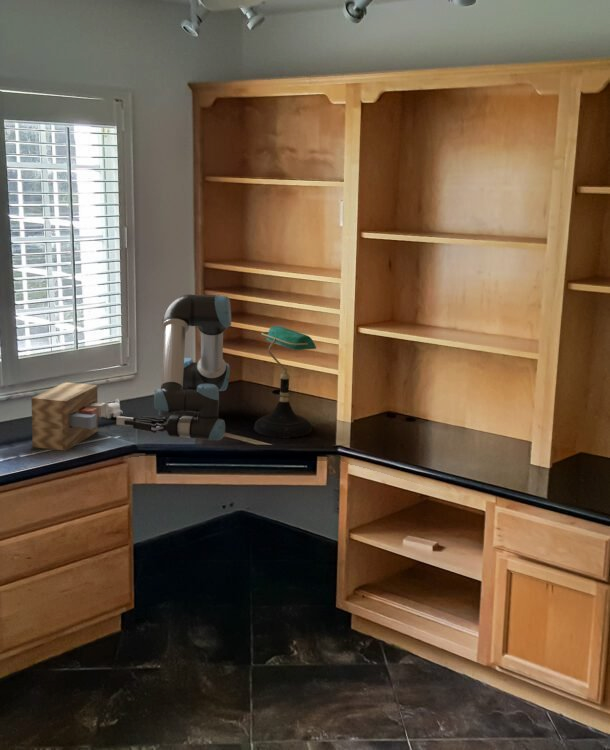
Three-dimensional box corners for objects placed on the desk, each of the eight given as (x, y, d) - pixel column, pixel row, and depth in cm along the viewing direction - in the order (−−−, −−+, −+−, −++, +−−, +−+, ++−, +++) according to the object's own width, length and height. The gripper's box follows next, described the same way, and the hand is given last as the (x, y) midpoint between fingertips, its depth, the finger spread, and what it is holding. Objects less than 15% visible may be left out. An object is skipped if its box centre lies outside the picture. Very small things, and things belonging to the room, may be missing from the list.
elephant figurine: (112, 421, 348) (112, 404, 346) (96, 416, 353) (96, 399, 352) (127, 418, 354) (127, 400, 352) (111, 413, 359) (111, 396, 358)
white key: (106, 414, 329) (105, 402, 328) (101, 417, 325) (101, 405, 324) (76, 411, 331) (76, 400, 330) (70, 414, 327) (70, 402, 326)
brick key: (97, 419, 321) (97, 408, 320) (91, 422, 317) (91, 411, 316) (66, 416, 323) (66, 405, 322) (61, 419, 319) (60, 408, 318)
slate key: (96, 426, 313) (96, 414, 312) (91, 429, 309) (91, 417, 308) (65, 423, 315) (64, 411, 314) (59, 426, 311) (59, 414, 310)
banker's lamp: (325, 435, 342) (330, 334, 333) (273, 442, 330) (277, 337, 321) (291, 418, 364) (295, 323, 355) (241, 424, 352) (244, 326, 343)
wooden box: (97, 431, 334) (97, 385, 330) (66, 450, 309) (65, 401, 305) (65, 427, 336) (65, 382, 332) (32, 447, 311) (31, 397, 308)
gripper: (174, 441, 302) (110, 435, 306) (186, 431, 314) (124, 425, 319) (174, 420, 300) (109, 414, 304) (186, 411, 313) (124, 405, 317)
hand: (117, 420), depth 311 cm, fingers closed
